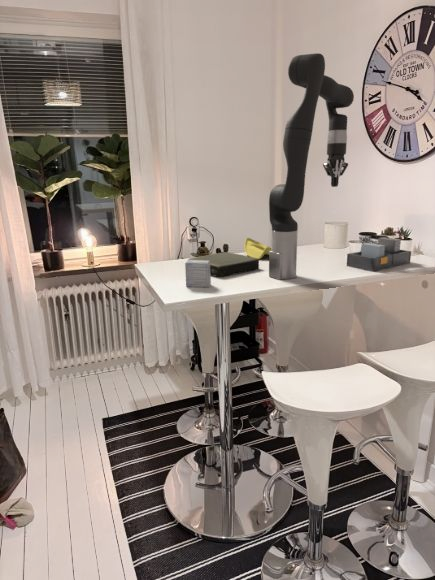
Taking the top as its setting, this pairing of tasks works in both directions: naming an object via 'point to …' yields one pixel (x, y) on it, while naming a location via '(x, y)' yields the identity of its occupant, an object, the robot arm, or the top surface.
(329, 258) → the top surface
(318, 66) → the robot arm
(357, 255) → the tray
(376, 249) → the light blue block
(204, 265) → the medicine box
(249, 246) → the plastic component
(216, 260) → the network switch
